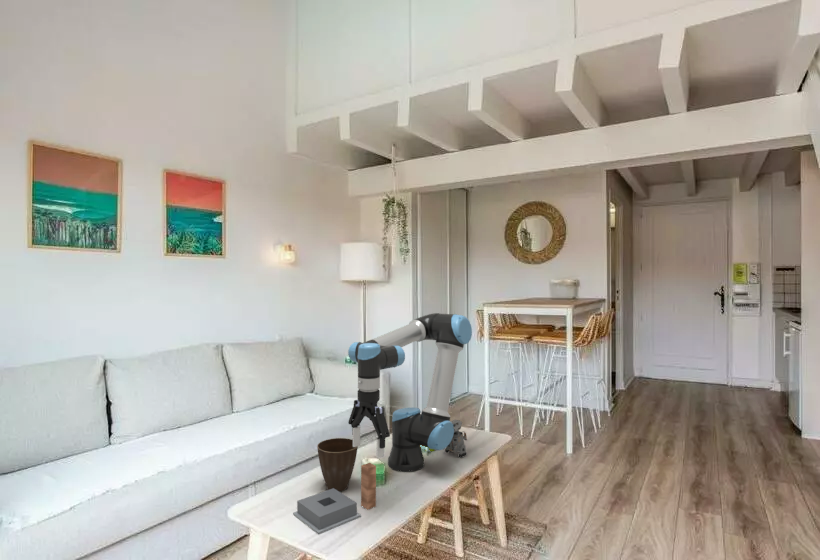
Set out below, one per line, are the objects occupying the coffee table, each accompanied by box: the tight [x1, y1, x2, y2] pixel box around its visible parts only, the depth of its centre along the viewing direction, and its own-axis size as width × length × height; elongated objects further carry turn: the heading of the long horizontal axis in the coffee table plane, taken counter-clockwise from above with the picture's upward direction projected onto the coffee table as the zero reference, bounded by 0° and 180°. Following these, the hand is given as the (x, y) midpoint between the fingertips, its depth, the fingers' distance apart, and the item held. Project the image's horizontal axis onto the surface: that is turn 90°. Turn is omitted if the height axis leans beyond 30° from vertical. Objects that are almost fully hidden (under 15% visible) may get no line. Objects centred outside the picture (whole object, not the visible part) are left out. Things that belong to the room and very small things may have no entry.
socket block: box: [292, 488, 362, 535], centre depth 157 cm, size 16×16×5 cm
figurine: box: [444, 419, 468, 459], centre depth 209 cm, size 9×12×15 cm
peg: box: [360, 462, 377, 511], centre depth 163 cm, size 4×4×14 cm
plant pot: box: [316, 437, 359, 492], centre depth 177 cm, size 15×15×16 cm
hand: (368, 451), depth 163 cm, fingers open, 13 cm apart
